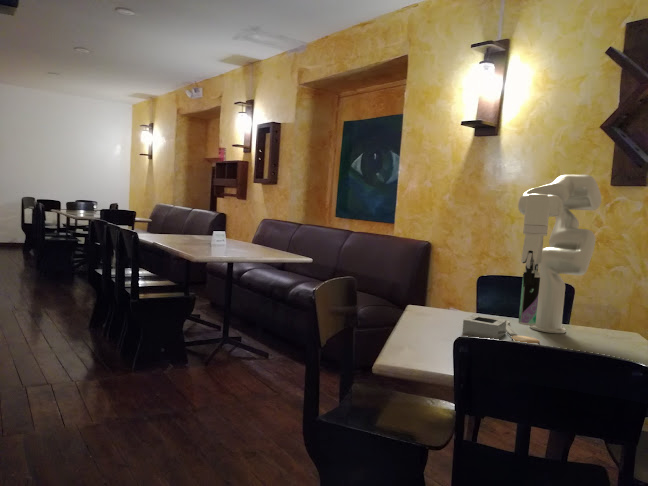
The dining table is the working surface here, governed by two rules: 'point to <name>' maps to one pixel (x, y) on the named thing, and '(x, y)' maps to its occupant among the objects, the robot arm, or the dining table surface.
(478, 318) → the block
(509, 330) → the adjustable wrench
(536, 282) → the spray can
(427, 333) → the dining table surface
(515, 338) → the coaster
